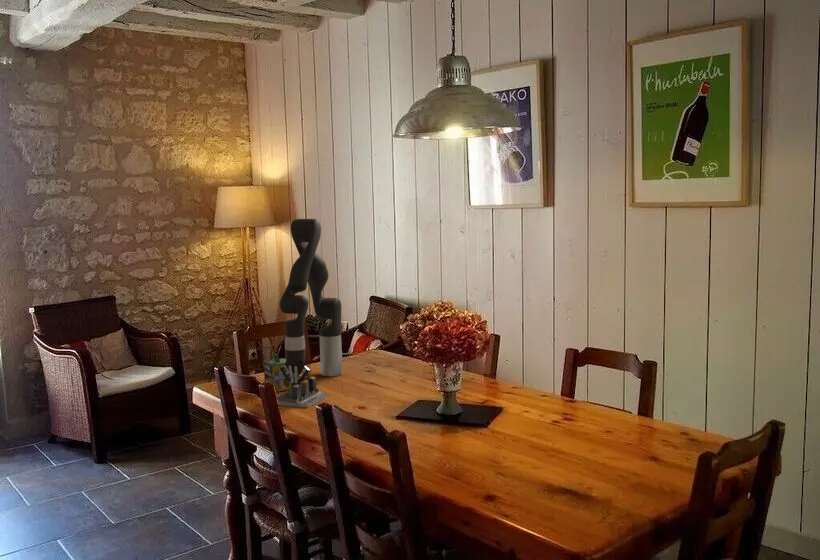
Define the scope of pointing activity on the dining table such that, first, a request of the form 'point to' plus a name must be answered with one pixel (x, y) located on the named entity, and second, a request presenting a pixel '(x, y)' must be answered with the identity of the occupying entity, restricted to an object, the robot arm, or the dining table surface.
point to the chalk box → (276, 374)
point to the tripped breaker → (305, 388)
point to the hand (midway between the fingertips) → (296, 391)
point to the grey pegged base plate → (297, 399)
